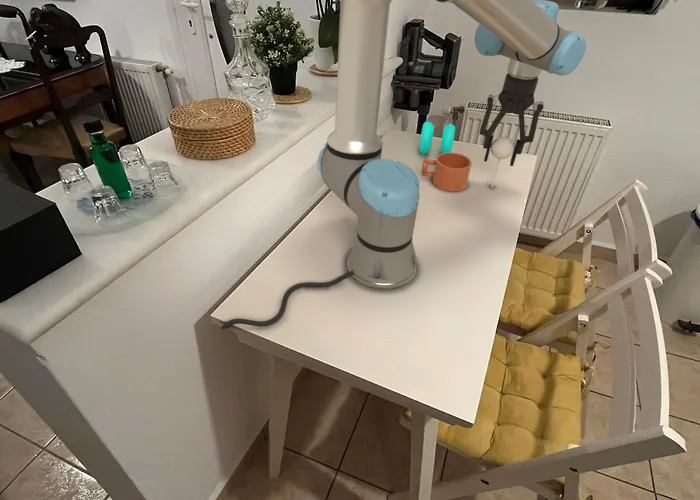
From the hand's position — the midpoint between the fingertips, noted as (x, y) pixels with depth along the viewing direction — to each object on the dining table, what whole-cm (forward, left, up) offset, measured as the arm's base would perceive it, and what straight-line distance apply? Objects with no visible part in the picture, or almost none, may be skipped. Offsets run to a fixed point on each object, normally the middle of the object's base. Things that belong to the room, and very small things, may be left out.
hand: (498, 161), depth 118 cm
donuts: (-1, +24, -8) cm, 25 cm away
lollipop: (0, 0, -8) cm, 8 cm away
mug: (-10, +9, -8) cm, 16 cm away
